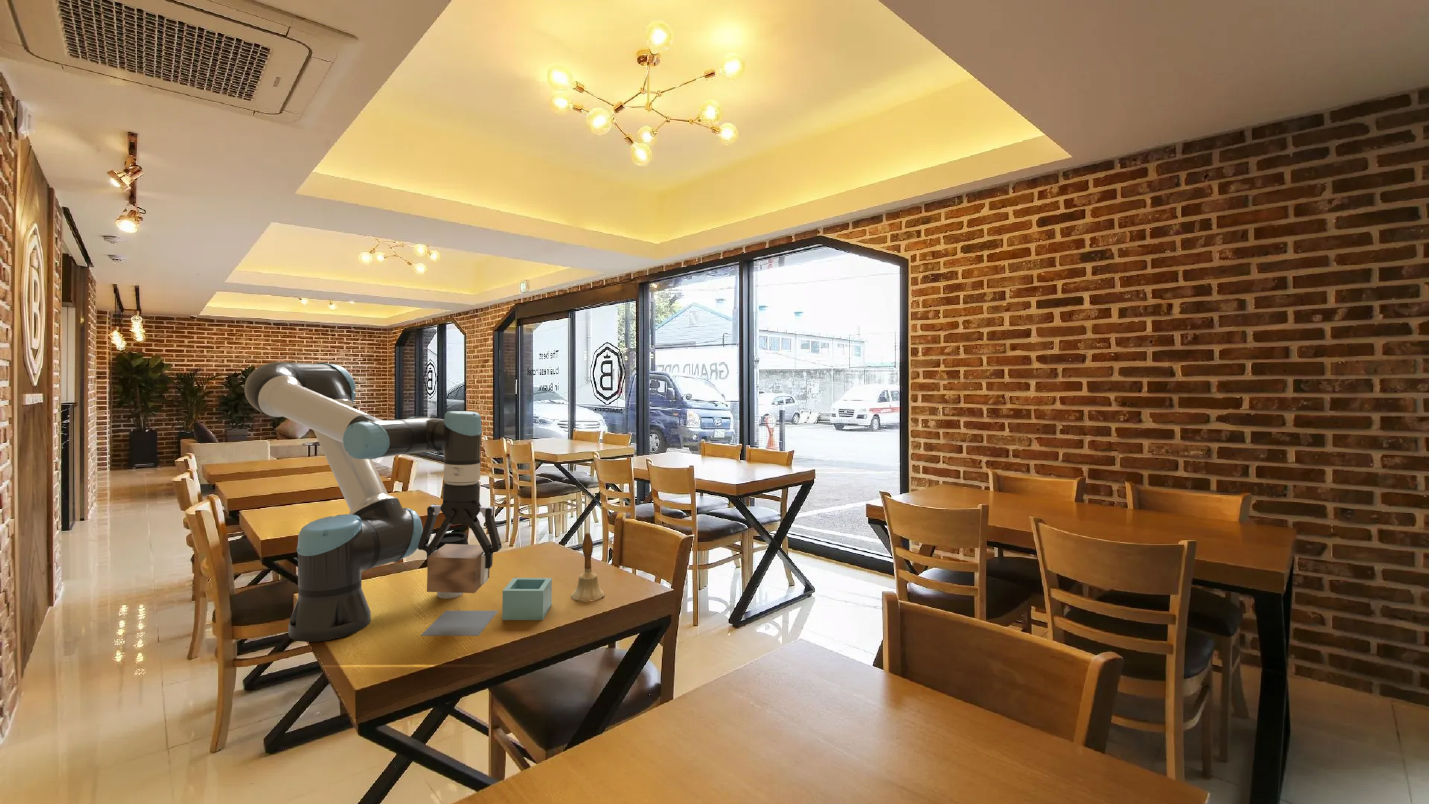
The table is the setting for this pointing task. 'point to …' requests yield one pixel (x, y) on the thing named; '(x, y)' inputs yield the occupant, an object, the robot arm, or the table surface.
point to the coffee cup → (451, 539)
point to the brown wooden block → (455, 569)
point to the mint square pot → (527, 599)
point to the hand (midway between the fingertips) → (459, 581)
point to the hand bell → (587, 576)
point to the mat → (460, 623)
